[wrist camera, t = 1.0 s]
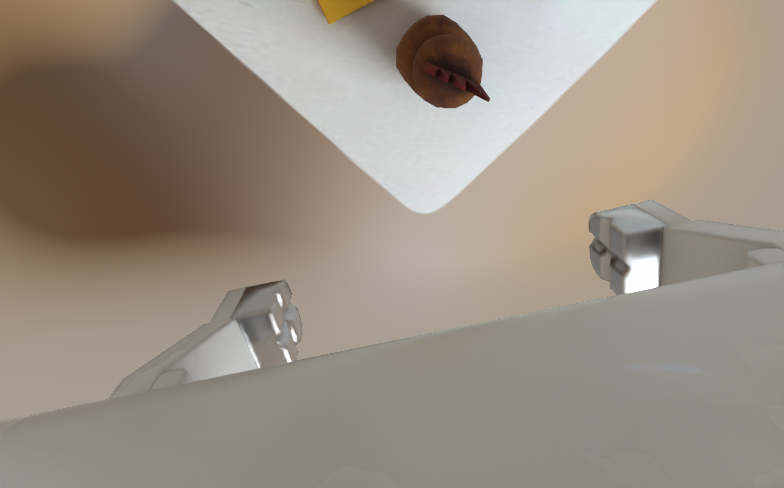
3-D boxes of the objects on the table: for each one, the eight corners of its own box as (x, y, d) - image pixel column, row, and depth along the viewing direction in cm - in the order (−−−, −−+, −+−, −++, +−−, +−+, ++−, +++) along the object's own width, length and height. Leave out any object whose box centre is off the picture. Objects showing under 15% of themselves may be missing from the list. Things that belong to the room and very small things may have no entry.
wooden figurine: (483, 58, 39) (534, 91, 26) (436, 106, 41) (461, 160, 28) (430, -3, 36) (457, 0, 23) (383, 52, 38) (383, 83, 25)
